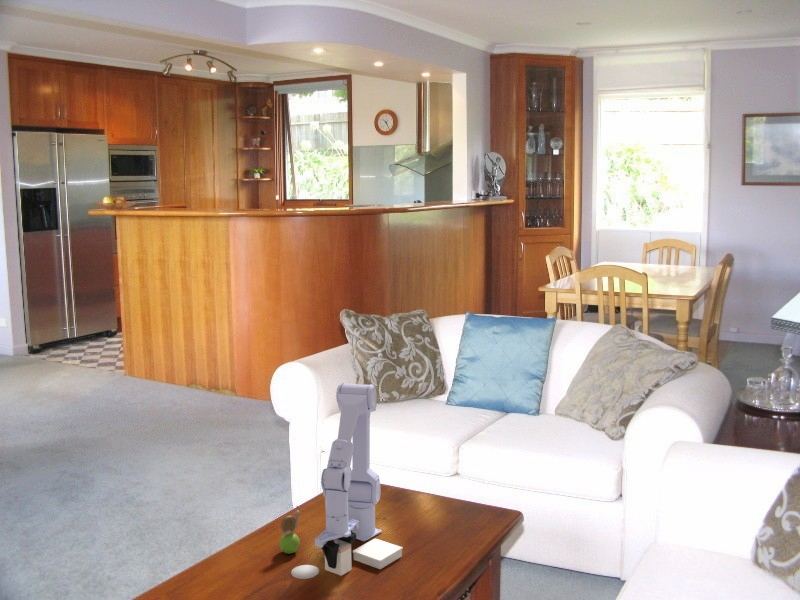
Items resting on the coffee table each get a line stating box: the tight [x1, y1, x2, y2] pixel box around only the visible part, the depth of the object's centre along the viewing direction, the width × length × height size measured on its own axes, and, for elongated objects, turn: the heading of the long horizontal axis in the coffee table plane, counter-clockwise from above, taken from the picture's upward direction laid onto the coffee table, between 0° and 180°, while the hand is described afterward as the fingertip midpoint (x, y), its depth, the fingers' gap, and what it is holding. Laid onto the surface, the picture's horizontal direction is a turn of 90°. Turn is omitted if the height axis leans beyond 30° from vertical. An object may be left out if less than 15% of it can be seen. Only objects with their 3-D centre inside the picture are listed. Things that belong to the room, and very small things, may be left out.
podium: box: [351, 538, 404, 570], centre depth 219 cm, size 9×9×2 cm
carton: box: [324, 539, 353, 577], centre depth 213 cm, size 6×4×7 cm
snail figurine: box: [278, 505, 301, 554], centre depth 223 cm, size 5×6×12 cm
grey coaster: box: [290, 564, 320, 580], centre depth 212 cm, size 7×7×1 cm
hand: (338, 563), depth 213 cm, fingers closed on carton, 4 cm apart
